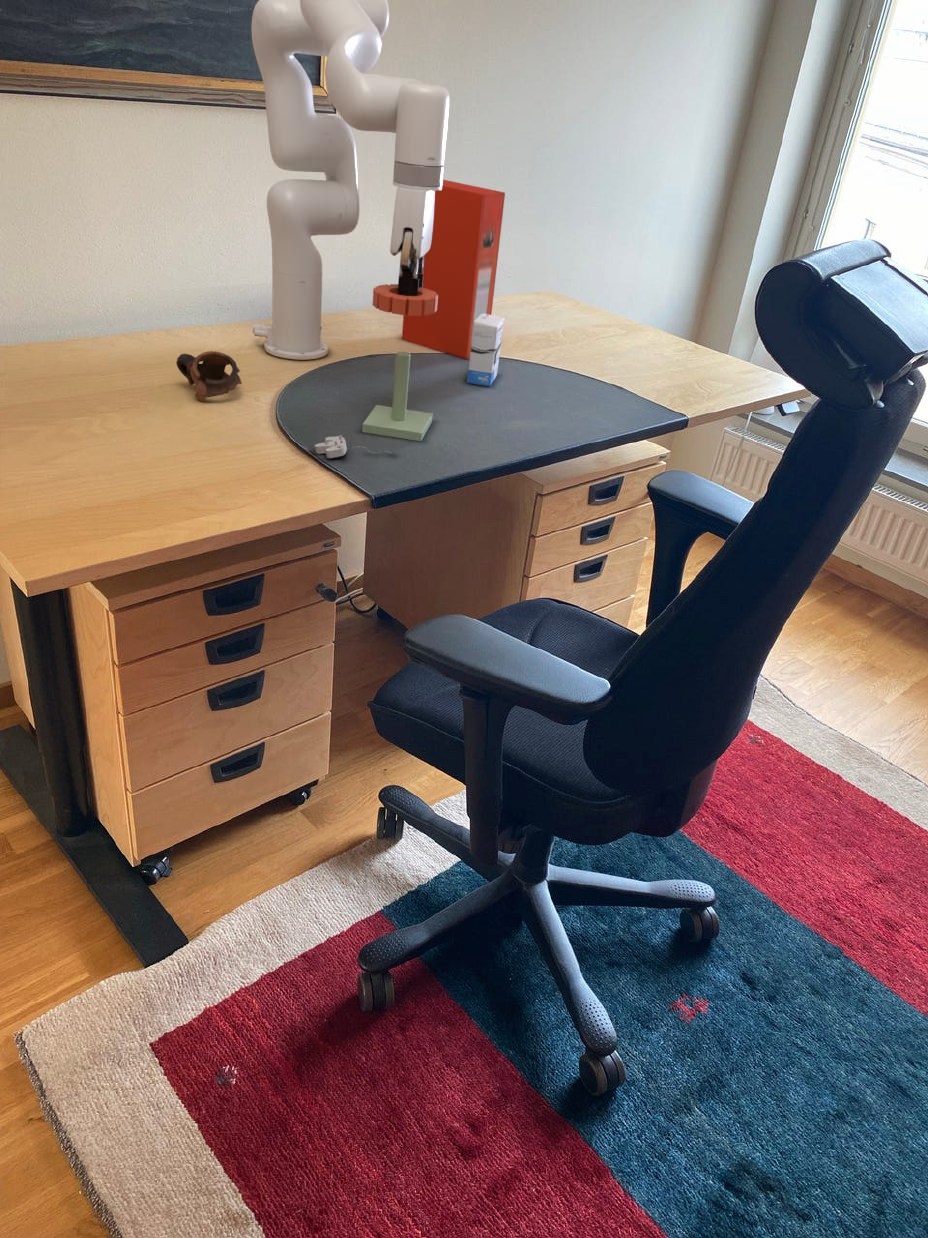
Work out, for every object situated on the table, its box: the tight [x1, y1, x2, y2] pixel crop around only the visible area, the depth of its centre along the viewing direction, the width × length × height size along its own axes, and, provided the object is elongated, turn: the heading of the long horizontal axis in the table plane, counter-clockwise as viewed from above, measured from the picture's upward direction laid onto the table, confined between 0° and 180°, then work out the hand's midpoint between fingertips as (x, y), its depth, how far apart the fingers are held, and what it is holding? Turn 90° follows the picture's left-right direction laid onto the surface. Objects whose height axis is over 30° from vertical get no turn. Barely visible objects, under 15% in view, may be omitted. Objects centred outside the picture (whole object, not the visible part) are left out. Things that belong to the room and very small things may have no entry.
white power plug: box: [314, 434, 393, 459], centre depth 147 cm, size 6×12×3 cm, turn 116°
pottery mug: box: [176, 350, 243, 402], centre depth 162 cm, size 12×10×8 cm
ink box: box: [466, 314, 506, 388], centre depth 184 cm, size 8×5×12 cm, turn 168°
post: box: [361, 351, 433, 442], centre depth 156 cm, size 10×10×12 cm
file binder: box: [401, 179, 506, 360], centre depth 196 cm, size 8×17×32 cm, turn 55°
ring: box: [372, 283, 438, 316], centre depth 149 cm, size 10×10×2 cm
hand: (409, 299), depth 152 cm, fingers closed on ring, 2 cm apart
